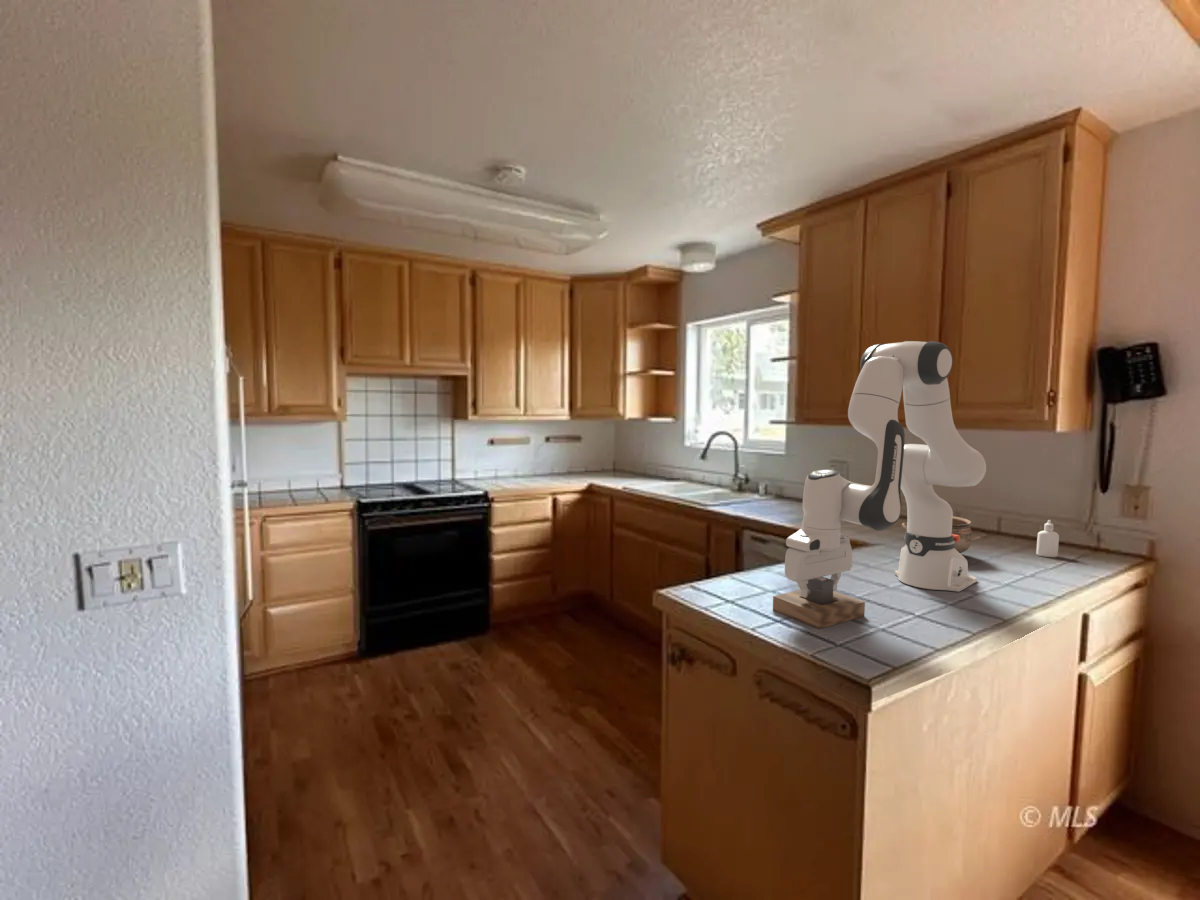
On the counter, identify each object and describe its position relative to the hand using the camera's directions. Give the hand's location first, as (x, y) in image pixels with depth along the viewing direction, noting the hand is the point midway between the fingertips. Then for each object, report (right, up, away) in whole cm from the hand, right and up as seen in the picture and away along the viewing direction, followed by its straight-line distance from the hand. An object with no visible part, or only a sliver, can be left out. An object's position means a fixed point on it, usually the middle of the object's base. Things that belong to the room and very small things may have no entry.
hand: (818, 593), depth 147 cm
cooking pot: (+59, 0, +53) cm, 79 cm away
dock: (0, -5, 0) cm, 5 cm away
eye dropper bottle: (+94, 0, +53) cm, 108 cm away
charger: (0, -4, 0) cm, 4 cm away
